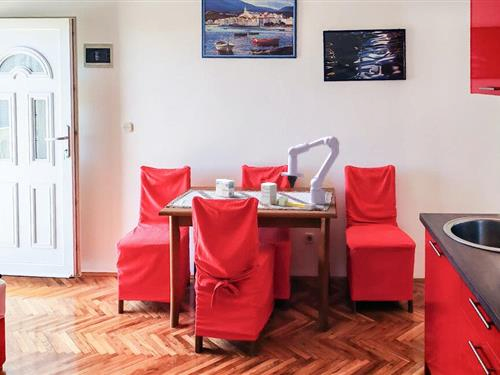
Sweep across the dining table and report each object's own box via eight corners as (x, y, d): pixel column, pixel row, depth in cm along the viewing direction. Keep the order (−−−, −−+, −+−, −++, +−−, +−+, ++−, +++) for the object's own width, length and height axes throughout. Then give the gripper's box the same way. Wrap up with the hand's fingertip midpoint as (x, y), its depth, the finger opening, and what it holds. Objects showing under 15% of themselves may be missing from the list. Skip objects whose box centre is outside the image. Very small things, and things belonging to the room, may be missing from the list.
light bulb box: (234, 196, 420) (234, 180, 418) (228, 197, 414) (228, 181, 412) (221, 194, 425) (221, 178, 423) (215, 195, 420) (215, 179, 418)
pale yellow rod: (311, 207, 386) (311, 202, 385) (309, 208, 383) (309, 203, 382) (276, 203, 397) (276, 198, 396) (273, 204, 394) (273, 198, 393)
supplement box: (267, 201, 403) (268, 182, 401) (276, 203, 398) (277, 183, 396) (260, 203, 397) (260, 183, 395) (269, 205, 392) (270, 185, 390)
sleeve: (287, 204, 394) (288, 196, 393) (284, 205, 390) (284, 198, 389) (281, 203, 396) (282, 196, 395) (278, 205, 392) (278, 197, 391)
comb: (315, 207, 387) (315, 203, 386) (311, 209, 380) (311, 205, 380) (309, 206, 389) (309, 202, 388) (304, 209, 382) (305, 204, 382)
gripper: (305, 166, 396) (305, 187, 398) (284, 164, 402) (284, 185, 404) (301, 167, 389) (300, 189, 392) (280, 166, 396) (279, 187, 398)
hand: (292, 187), depth 398 cm, fingers closed
